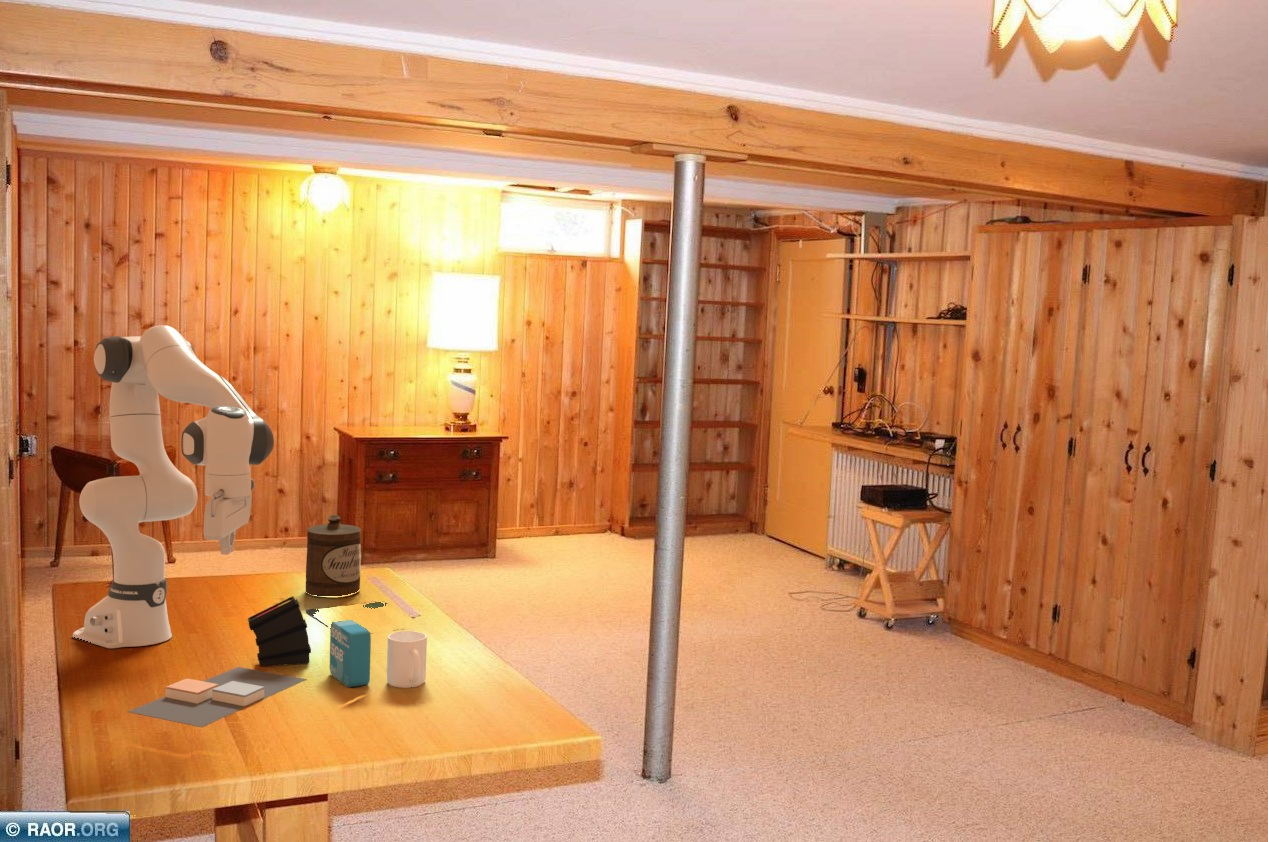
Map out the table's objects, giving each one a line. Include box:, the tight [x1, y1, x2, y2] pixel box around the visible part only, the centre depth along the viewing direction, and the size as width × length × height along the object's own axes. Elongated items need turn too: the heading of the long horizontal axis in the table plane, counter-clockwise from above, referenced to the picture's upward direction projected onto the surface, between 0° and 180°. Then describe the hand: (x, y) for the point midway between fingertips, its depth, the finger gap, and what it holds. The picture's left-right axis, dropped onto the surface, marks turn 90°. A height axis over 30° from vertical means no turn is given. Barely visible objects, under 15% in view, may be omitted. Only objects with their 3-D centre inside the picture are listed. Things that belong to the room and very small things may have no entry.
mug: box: [386, 630, 428, 689], centre depth 246 cm, size 12×8×10 cm
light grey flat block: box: [212, 681, 264, 706], centre depth 232 cm, size 8×2×6 cm
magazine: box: [247, 595, 312, 667], centre depth 257 cm, size 4×13×15 cm, turn 111°
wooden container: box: [305, 514, 362, 596], centre depth 322 cm, size 15×15×22 cm
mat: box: [127, 666, 307, 728], centre depth 234 cm, size 18×32×1 cm, turn 159°
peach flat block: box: [165, 678, 218, 704], centre depth 232 cm, size 8×2×6 cm
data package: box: [329, 620, 372, 688], centre depth 248 cm, size 12×4×12 cm, turn 36°
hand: (227, 553), depth 235 cm, fingers closed
